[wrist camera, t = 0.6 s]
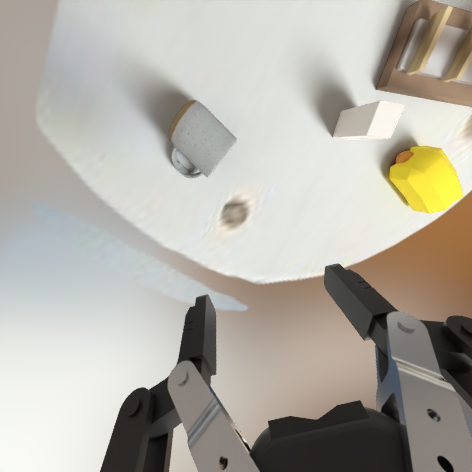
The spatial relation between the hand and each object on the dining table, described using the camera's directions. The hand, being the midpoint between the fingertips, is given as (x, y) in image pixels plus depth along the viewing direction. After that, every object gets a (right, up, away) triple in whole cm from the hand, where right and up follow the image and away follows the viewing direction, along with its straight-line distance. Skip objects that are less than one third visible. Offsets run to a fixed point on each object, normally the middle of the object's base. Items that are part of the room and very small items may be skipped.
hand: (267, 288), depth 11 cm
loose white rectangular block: (+18, +24, +19) cm, 35 cm away
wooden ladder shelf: (+35, +32, +17) cm, 50 cm away
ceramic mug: (-8, +19, +19) cm, 28 cm away
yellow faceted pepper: (+37, +16, +26) cm, 48 cm away
